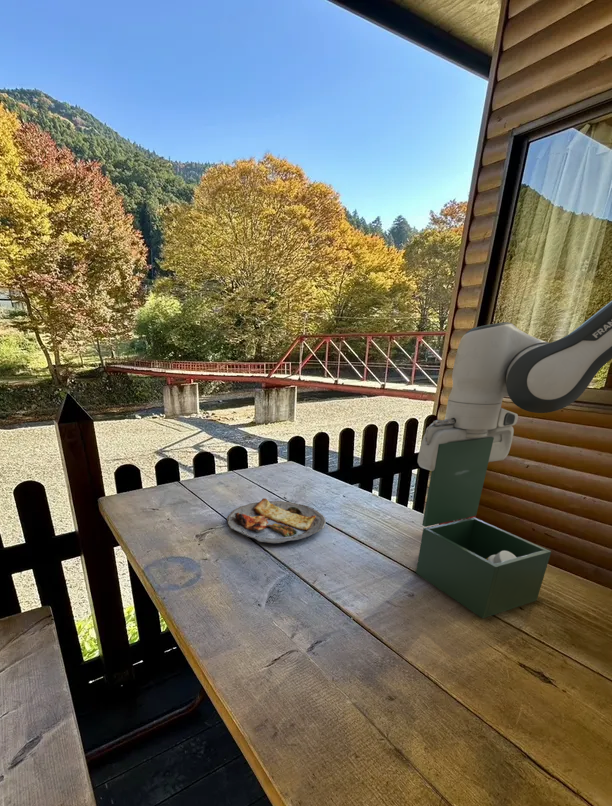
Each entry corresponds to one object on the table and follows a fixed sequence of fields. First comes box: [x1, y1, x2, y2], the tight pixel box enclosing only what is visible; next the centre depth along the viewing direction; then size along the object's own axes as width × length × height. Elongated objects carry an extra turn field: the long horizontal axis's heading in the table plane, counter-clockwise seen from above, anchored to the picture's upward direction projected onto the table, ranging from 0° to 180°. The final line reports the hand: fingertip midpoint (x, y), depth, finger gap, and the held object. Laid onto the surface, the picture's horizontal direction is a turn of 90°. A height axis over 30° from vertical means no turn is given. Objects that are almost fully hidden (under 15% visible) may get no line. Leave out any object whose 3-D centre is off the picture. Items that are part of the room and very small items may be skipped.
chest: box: [415, 517, 552, 619], centre depth 77 cm, size 16×14×11 cm
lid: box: [421, 437, 494, 528], centre depth 79 cm, size 16×14×1 cm
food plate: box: [226, 498, 327, 544], centre depth 106 cm, size 25×23×4 cm
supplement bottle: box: [486, 551, 517, 564], centre depth 75 cm, size 5×5×8 cm
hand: (458, 485), depth 82 cm, fingers closed, pressing on lid
